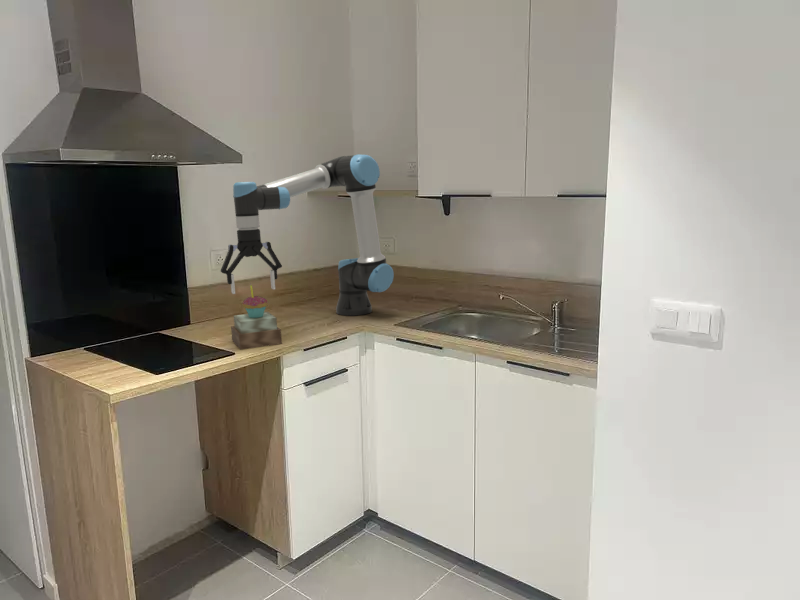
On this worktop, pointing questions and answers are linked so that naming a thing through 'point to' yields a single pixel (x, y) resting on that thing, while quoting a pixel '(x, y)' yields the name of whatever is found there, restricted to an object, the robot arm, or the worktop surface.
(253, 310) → the cupcake
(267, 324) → the block tower
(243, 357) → the worktop surface
